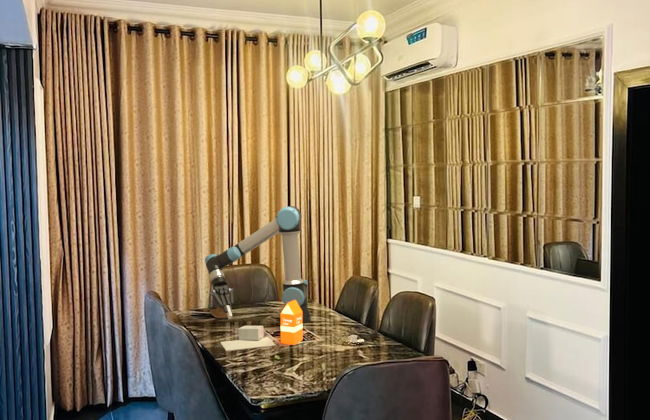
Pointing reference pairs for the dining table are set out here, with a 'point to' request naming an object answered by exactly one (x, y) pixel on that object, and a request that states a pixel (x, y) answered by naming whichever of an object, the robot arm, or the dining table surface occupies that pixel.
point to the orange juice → (291, 324)
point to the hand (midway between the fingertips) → (230, 317)
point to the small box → (251, 332)
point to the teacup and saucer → (355, 339)
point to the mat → (247, 344)
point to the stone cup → (219, 310)
